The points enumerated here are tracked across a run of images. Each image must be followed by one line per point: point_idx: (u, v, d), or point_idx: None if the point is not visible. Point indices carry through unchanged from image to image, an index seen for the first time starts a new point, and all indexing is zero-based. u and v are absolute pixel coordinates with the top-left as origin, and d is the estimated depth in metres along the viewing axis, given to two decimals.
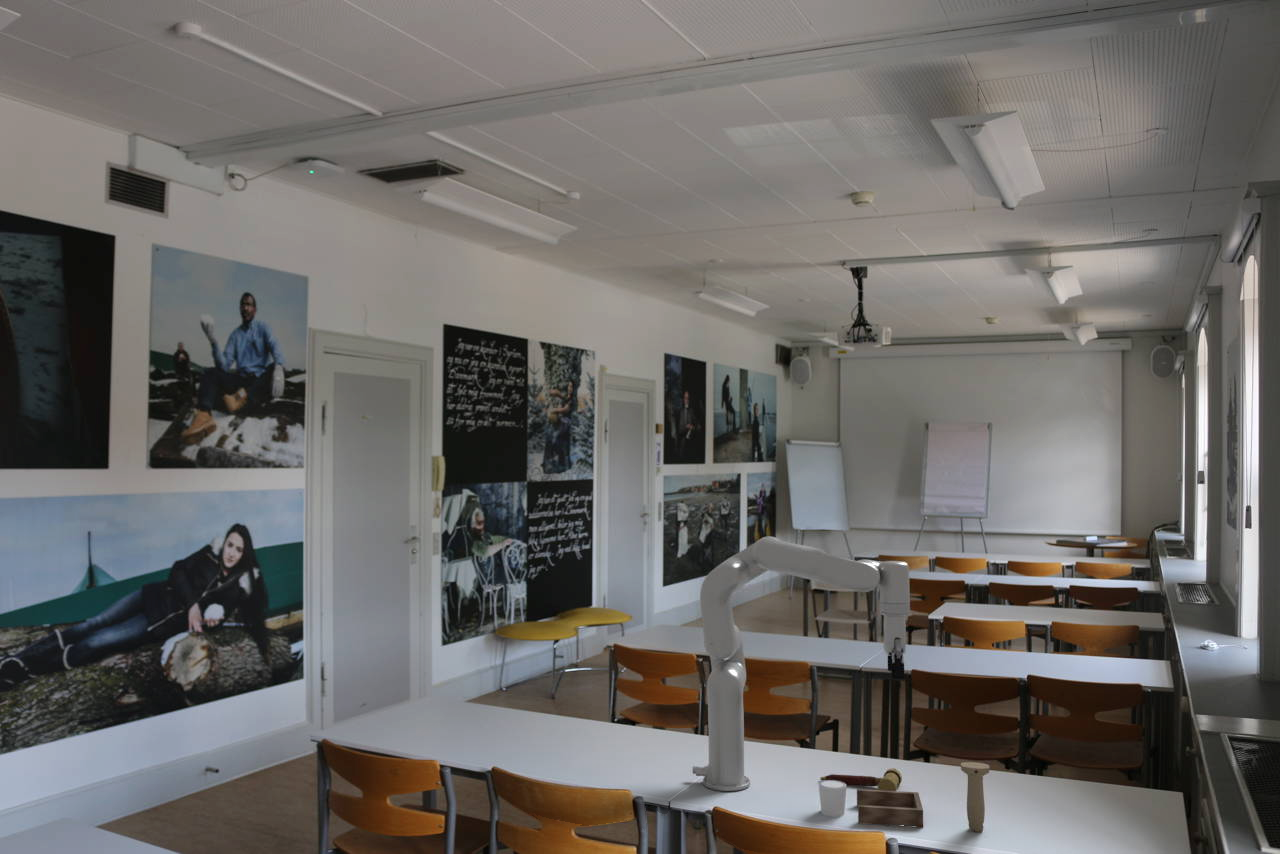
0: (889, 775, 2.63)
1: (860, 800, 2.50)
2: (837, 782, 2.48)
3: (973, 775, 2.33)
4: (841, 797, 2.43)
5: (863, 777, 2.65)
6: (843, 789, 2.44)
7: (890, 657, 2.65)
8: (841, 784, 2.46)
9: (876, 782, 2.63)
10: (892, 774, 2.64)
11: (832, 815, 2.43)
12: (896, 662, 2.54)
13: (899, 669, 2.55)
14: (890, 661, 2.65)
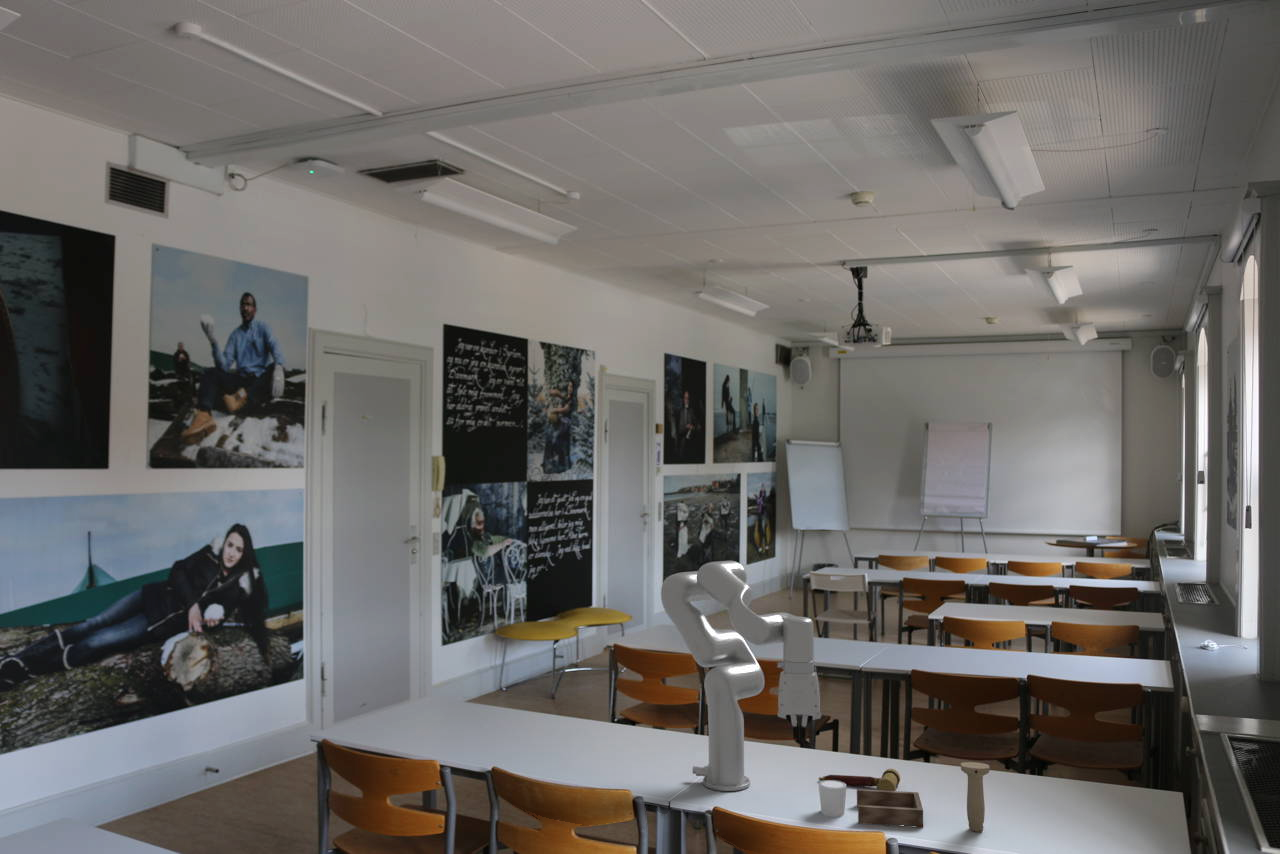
0: (888, 775, 2.63)
1: (860, 800, 2.50)
2: (837, 782, 2.48)
3: (973, 775, 2.33)
4: (841, 797, 2.43)
5: (862, 777, 2.65)
6: (843, 789, 2.44)
7: (798, 728, 2.47)
8: (841, 784, 2.46)
9: (875, 782, 2.63)
10: (891, 774, 2.64)
11: (832, 814, 2.43)
12: (806, 724, 2.47)
13: (805, 731, 2.48)
14: None
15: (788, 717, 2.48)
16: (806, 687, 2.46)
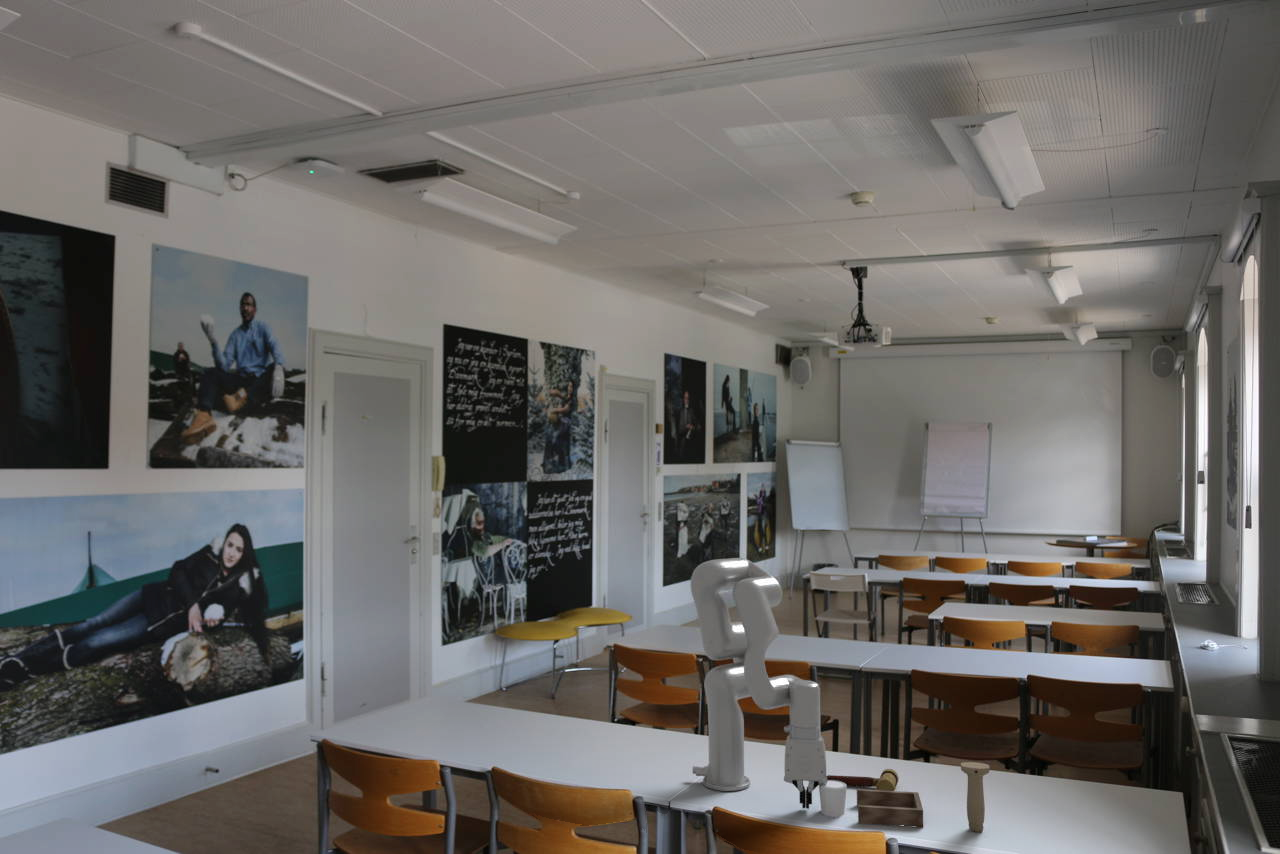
0: (887, 775, 2.63)
1: (860, 800, 2.50)
2: (837, 782, 2.48)
3: (973, 775, 2.33)
4: (841, 797, 2.43)
5: (860, 778, 2.65)
6: (843, 789, 2.44)
7: (805, 793, 2.46)
8: (841, 784, 2.46)
9: (874, 783, 2.63)
10: (889, 774, 2.64)
11: (832, 815, 2.43)
12: None
13: None
14: (805, 797, 2.46)
15: (794, 782, 2.47)
16: (812, 753, 2.45)
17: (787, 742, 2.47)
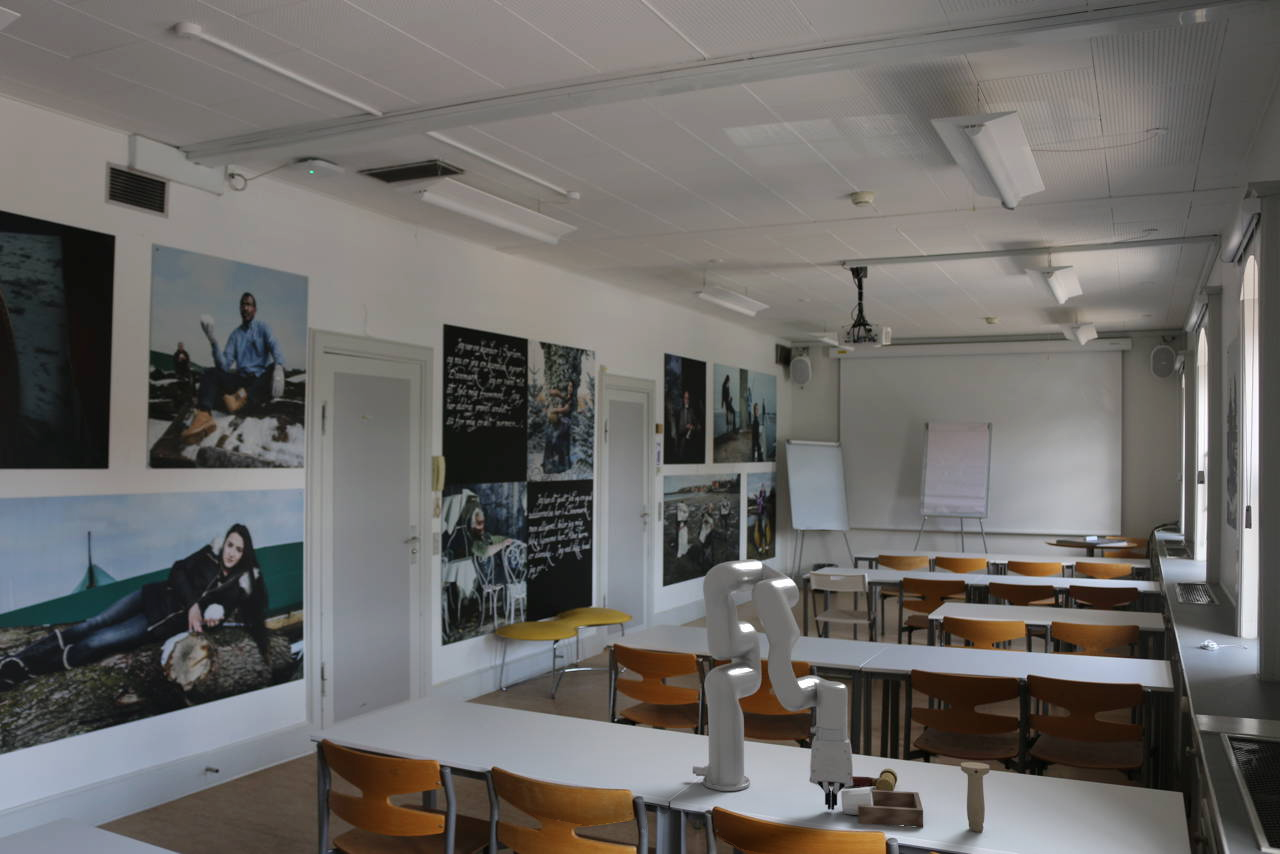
0: (886, 775, 2.63)
1: None
2: (872, 804, 2.45)
3: (973, 775, 2.33)
4: None
5: (860, 778, 2.65)
6: None
7: None
8: None
9: (873, 782, 2.63)
10: (888, 774, 2.64)
11: (843, 805, 2.43)
12: None
13: None
14: None
15: (820, 783, 2.46)
16: (839, 754, 2.43)
17: (813, 743, 2.45)
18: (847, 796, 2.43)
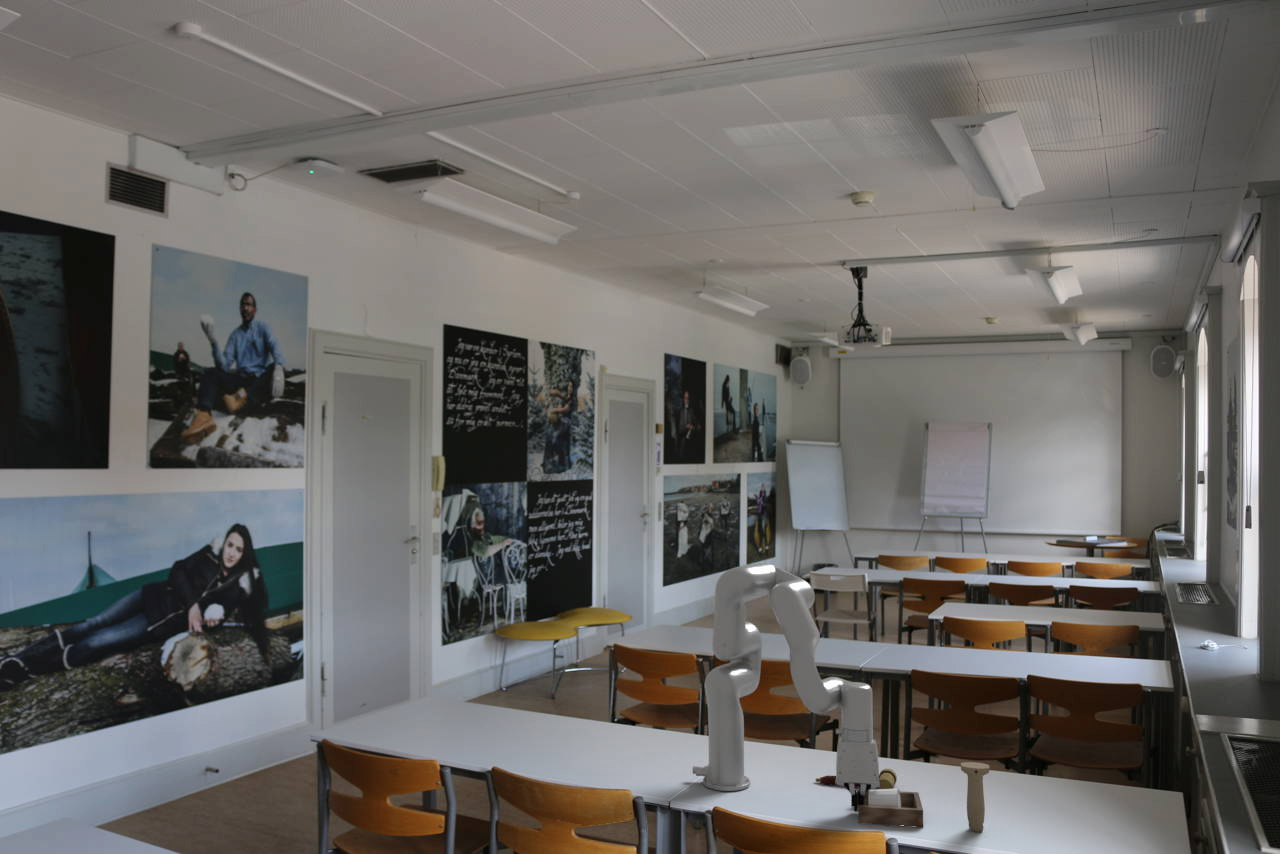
0: (885, 775, 2.63)
1: None
2: (900, 806, 2.44)
3: (973, 775, 2.33)
4: None
5: None
6: None
7: None
8: None
9: None
10: (888, 774, 2.64)
11: (870, 804, 2.42)
12: None
13: None
14: None
15: (846, 785, 2.45)
16: (865, 755, 2.42)
17: (839, 744, 2.44)
18: (874, 796, 2.42)
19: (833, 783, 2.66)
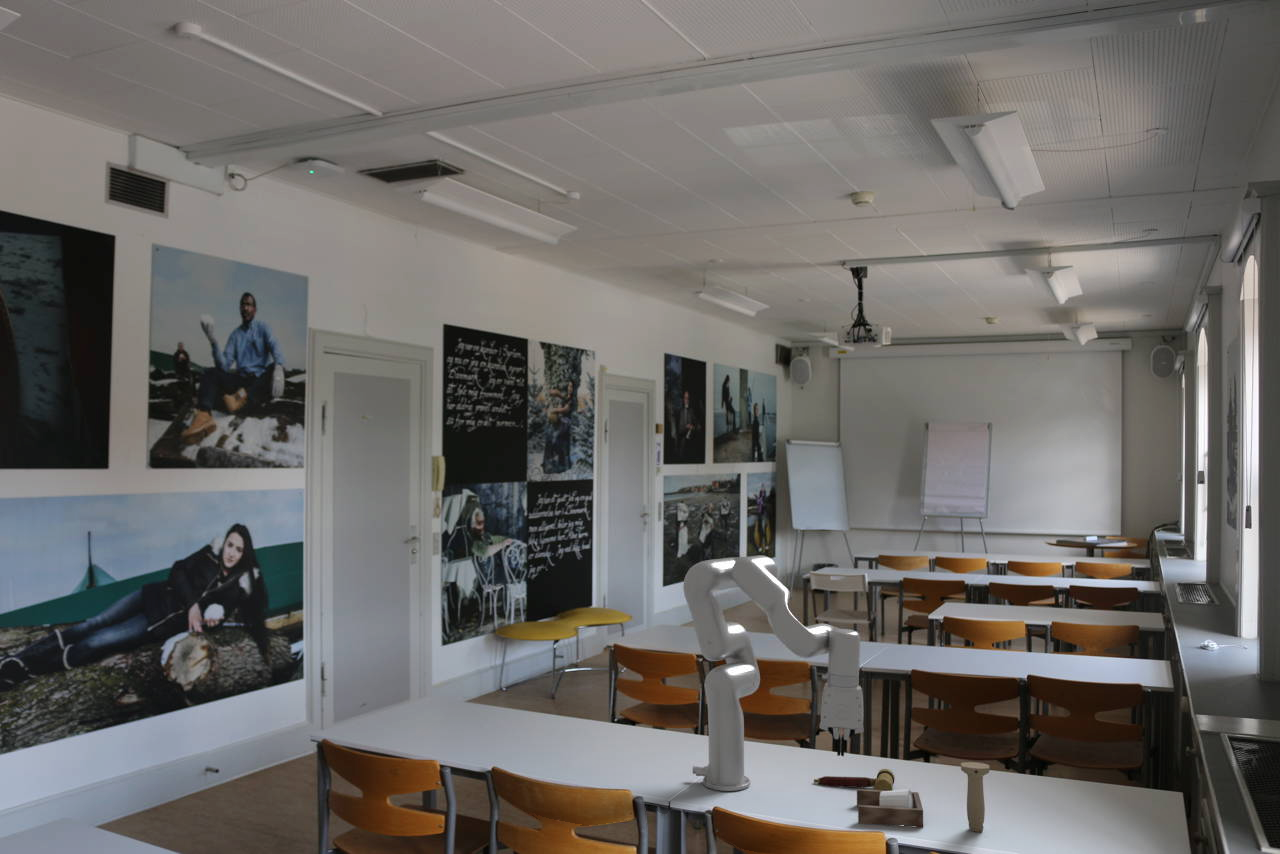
0: (884, 775, 2.63)
1: (860, 800, 2.50)
2: (912, 807, 2.43)
3: (973, 775, 2.33)
4: None
5: (857, 778, 2.65)
6: None
7: None
8: None
9: (871, 783, 2.63)
10: (886, 774, 2.64)
11: None
12: None
13: None
14: None
15: (830, 729, 2.46)
16: (850, 701, 2.44)
17: (825, 689, 2.46)
18: (885, 797, 2.42)
19: (831, 784, 2.66)
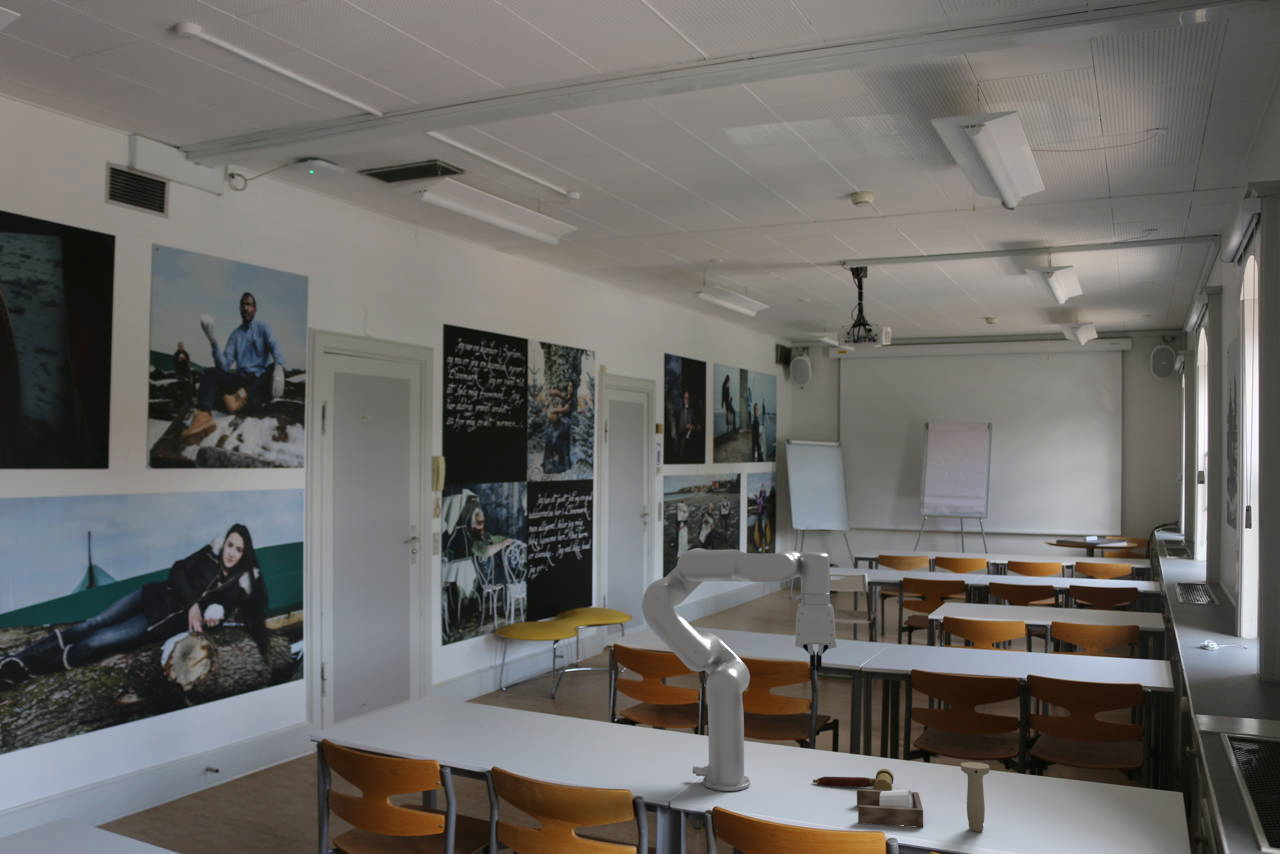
0: (883, 775, 2.63)
1: (860, 800, 2.50)
2: (912, 807, 2.43)
3: (973, 775, 2.33)
4: None
5: (857, 778, 2.64)
6: None
7: (815, 656, 2.61)
8: None
9: (870, 783, 2.63)
10: (885, 774, 2.64)
11: None
12: (822, 653, 2.61)
13: (821, 659, 2.62)
14: (815, 660, 2.61)
15: (805, 646, 2.61)
16: (822, 617, 2.59)
17: (798, 608, 2.61)
18: (885, 797, 2.42)
19: (831, 784, 2.66)
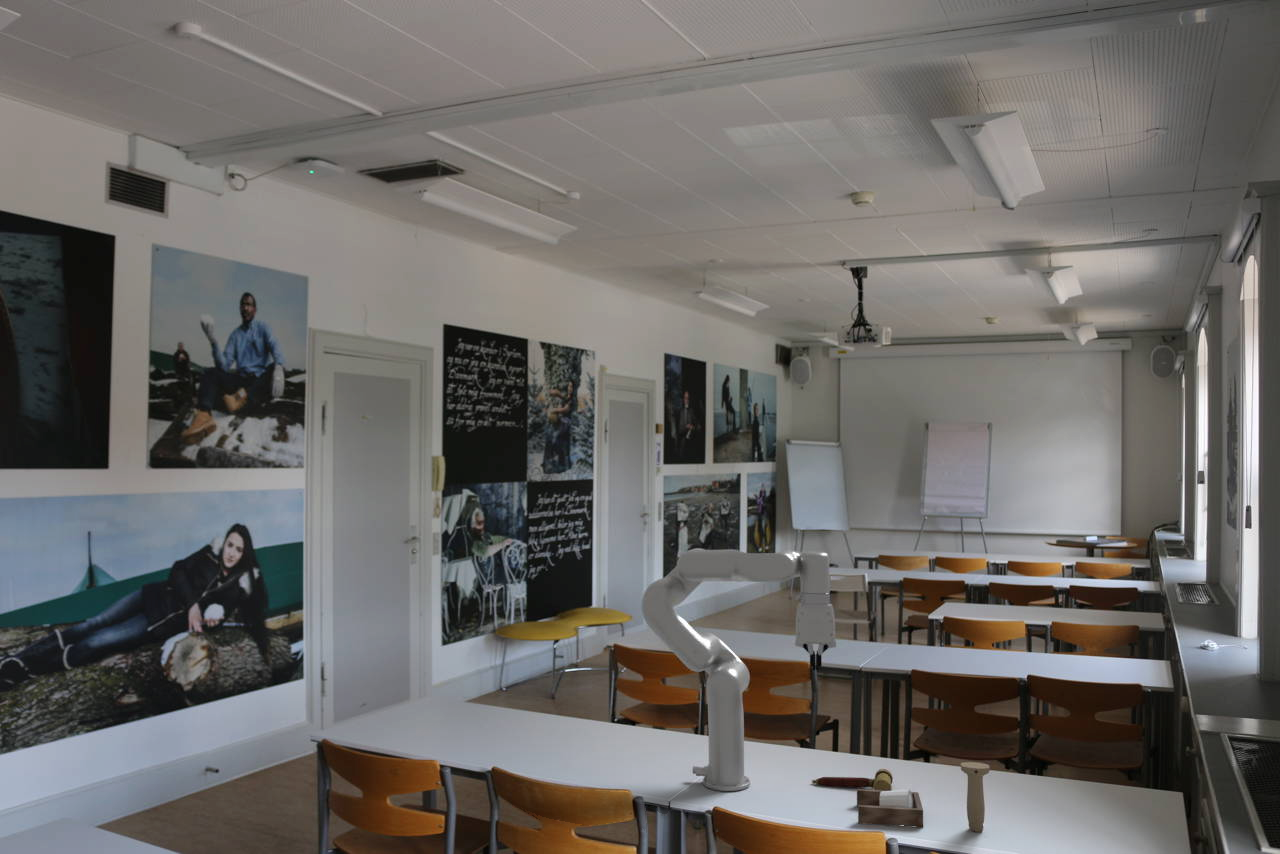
0: (882, 776, 2.62)
1: (860, 800, 2.50)
2: (912, 807, 2.43)
3: (973, 775, 2.33)
4: None
5: (856, 779, 2.64)
6: None
7: None
8: None
9: (869, 783, 2.63)
10: (885, 774, 2.64)
11: None
12: (822, 653, 2.61)
13: (821, 659, 2.62)
14: (815, 660, 2.61)
15: (805, 646, 2.61)
16: (822, 617, 2.59)
17: (798, 608, 2.61)
18: (885, 797, 2.42)
19: (830, 784, 2.66)
